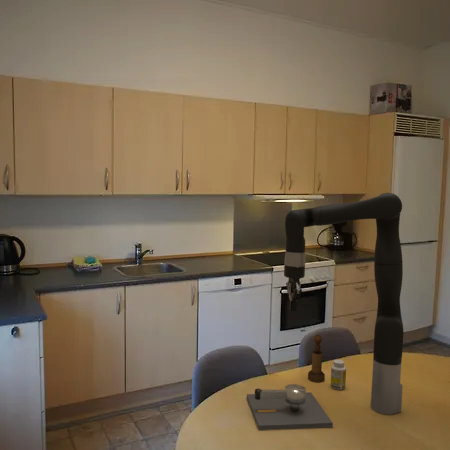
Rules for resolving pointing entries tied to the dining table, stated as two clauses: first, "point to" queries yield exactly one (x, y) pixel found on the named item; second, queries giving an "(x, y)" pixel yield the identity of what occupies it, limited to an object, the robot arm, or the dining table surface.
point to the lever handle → (285, 395)
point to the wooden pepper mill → (316, 363)
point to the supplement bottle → (338, 375)
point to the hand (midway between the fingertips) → (292, 310)
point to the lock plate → (288, 414)
